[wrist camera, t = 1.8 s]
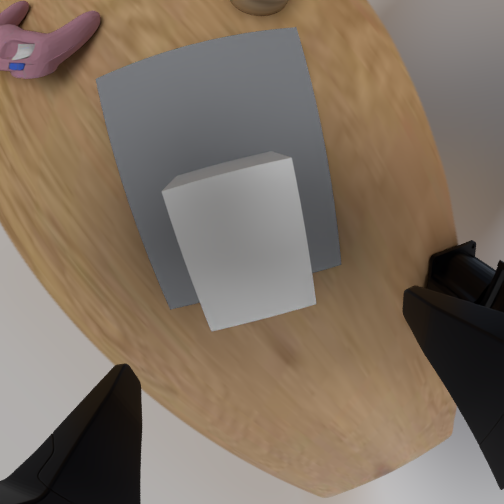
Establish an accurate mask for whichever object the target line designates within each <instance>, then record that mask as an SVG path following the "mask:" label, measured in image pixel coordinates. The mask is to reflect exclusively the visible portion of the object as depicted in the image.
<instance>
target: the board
mask: <svg viewBox="0 0 504 504" xmlns="http://www.w3.org/2000/svg"><path fill="white" fill-rule="evenodd" d="M96 83H97V88H98V92H99V97H100V102H101V106H102V110H103V115H104V119H105V123H106V127H107V131H108V135H109V138H110V142H111V146H112V150H113V153H114V157H115V160H116V164H117V167H118V170H119V174H120V177H121V180H122V183H123V187H124V190H125V193H126V196H127V199H128V202H129V205H130V208H131V211H132V214H133V217H134V219H135V222H136V225H137V228H138V231H139V233H140V236H141V239H142V242H143V244H144V247H145V249H146V252H147V255H148V257H149V260H150V262H151V265H152V267H153V270H154V272H155V275H156V277H157V280H158V282H159V284H160V287H161V289H162V291H163V294H164V296H165V298H166V301H167V303H168V305H169V307H170V309H174V308H179V307H183V306H187V305H191V304H196V303H200V301H199V299H198V296H197V293H196V291H195V288H194V285H193V283H192V280H191V277H190V275H189V272H188V269H187V266H186V264H185V261H184V258H183V255H182V252H181V249H180V246H179V244H178V241H177V238H176V235H175V232H174V229H173V226H172V223H171V220H170V217H169V214H168V210H167V207H166V204H165V201H164V198H163V195H162V190H163V189H164V188H165V187H166V186H167V185H168V184H169V183H170V182H171V181H172V180H173V179H174V178H175V177H176V176H178V175H181V174H184V173H188V172H191V171H195V170H198V169H202V168H205V167H209V166H213V165H217V164H220V163H224V162H228V161H232V160H236V159H240V158H244V157H248V156H253V155H257V154H261V153H266V152H270V151H272V152H275V153H279V154H282V155H285V156H288V157H291V158H292V161H293V166H294V171H295V176H296V181H297V187H298V192H299V197H300V203H301V208H302V214H303V220H304V225H305V231H306V237H307V243H308V250H309V256H310V262H311V269H312V273H314V272H318V271H322V270H325V269H329V268H332V267H335V266H339V265H341V255H340V245H339V236H338V228H337V220H336V212H335V205H334V198H333V191H332V184H331V178H330V172H329V166H328V160H327V154H326V149H325V144H324V138H323V133H322V128H321V123H320V118H319V114H318V109H317V105H316V100H315V96H314V92H313V87H312V83H311V79H310V75H309V71H308V67H307V64H306V60H305V56H304V53H303V49H302V45H301V42H300V38H299V35H298V32H297V28H296V27H295V28H283V29H273V30H265V31H257V32H250V33H244V34H238V35H233V36H227V37H222V38H217V39H213V40H208V41H204V42H200V43H196V44H192V45H188V46H185V47H181V48H177V49H174V50H171V51H167V52H164V53H161V54H158V55H155V56H152V57H149V58H146V59H143V60H141V61H138V62H135V63H132V64H130V65H127V66H125V67H122V68H120V69H117V70H115V71H113V72H110V73H108V74H106V75H103V76H101V77H99V78H97V79H96Z"/></svg>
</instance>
